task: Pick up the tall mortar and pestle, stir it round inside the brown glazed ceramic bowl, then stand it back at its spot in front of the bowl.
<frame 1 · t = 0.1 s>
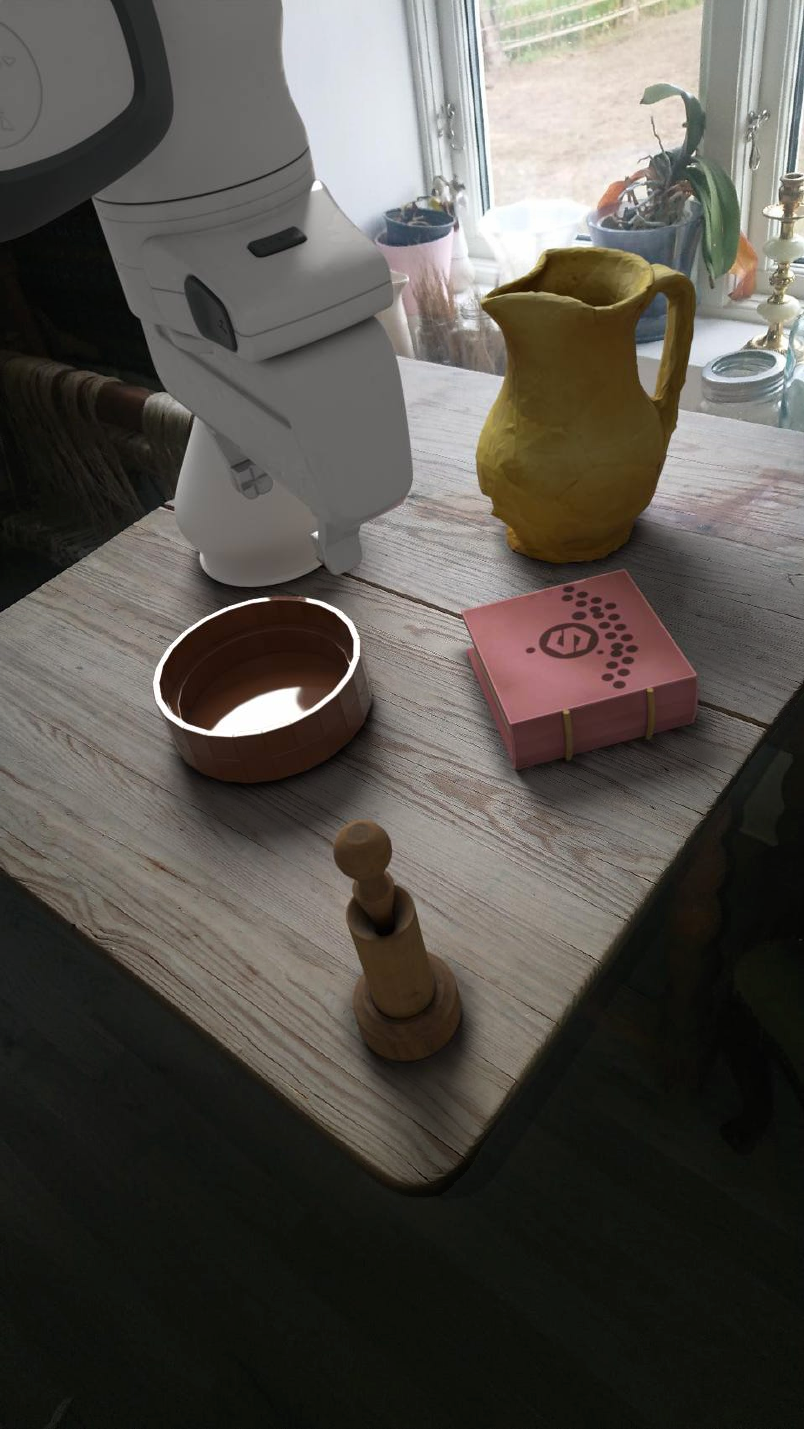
hand: (295, 525, 50), 29 cm above the table, tool pointing down, fingers open, 8 cm apart
pitcher: (580, 530, 96), on the table
book: (575, 692, 80), on the table
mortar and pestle: (410, 1014, 62), on the table
vase: (273, 544, 103), on the table
bowl: (274, 713, 83), on the table
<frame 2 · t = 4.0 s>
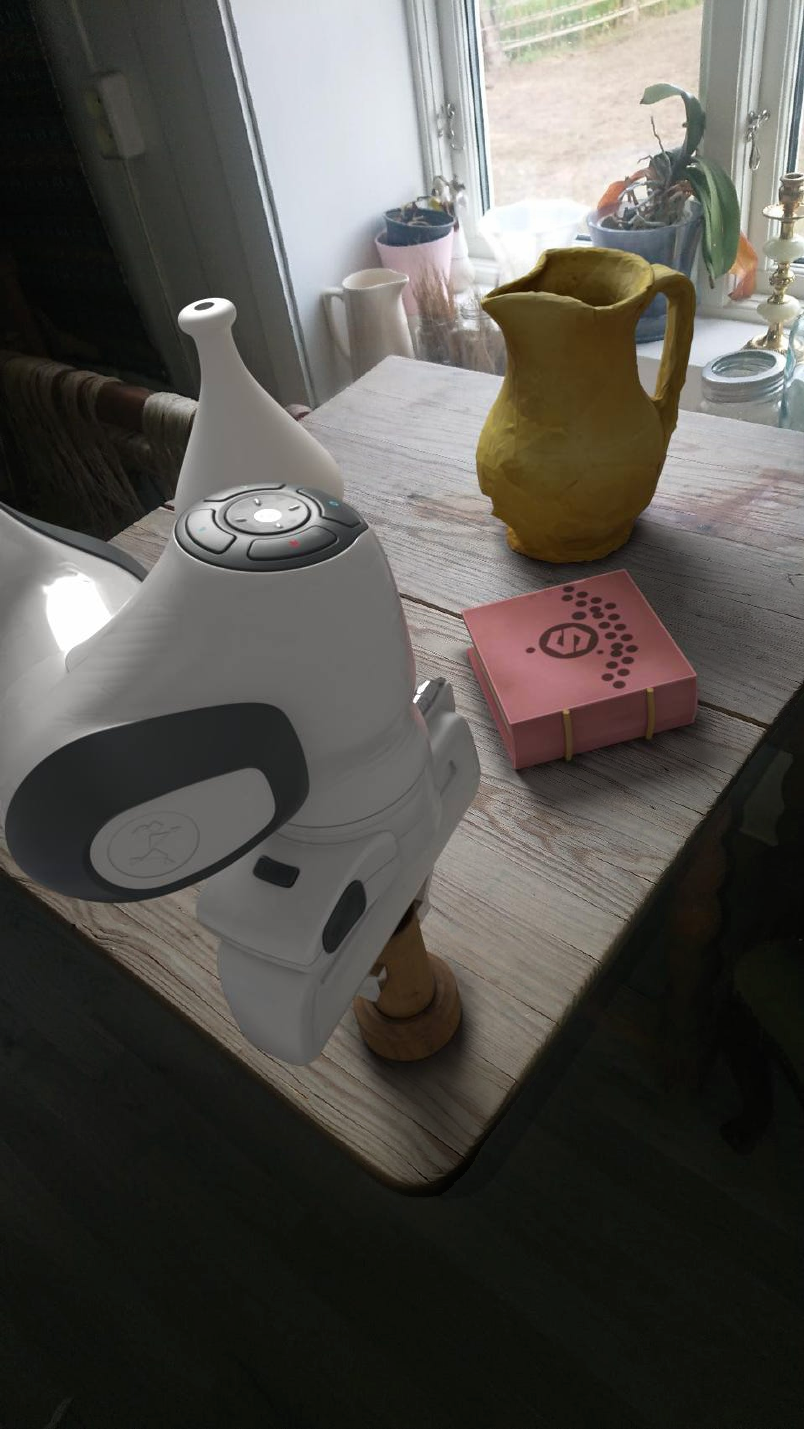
hand: (392, 951, 56), 7 cm above the table, tool pointing down, fingers closed on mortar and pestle, 4 cm apart
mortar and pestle: (410, 1014, 62), on the table, touching gripper
everything else where it was.
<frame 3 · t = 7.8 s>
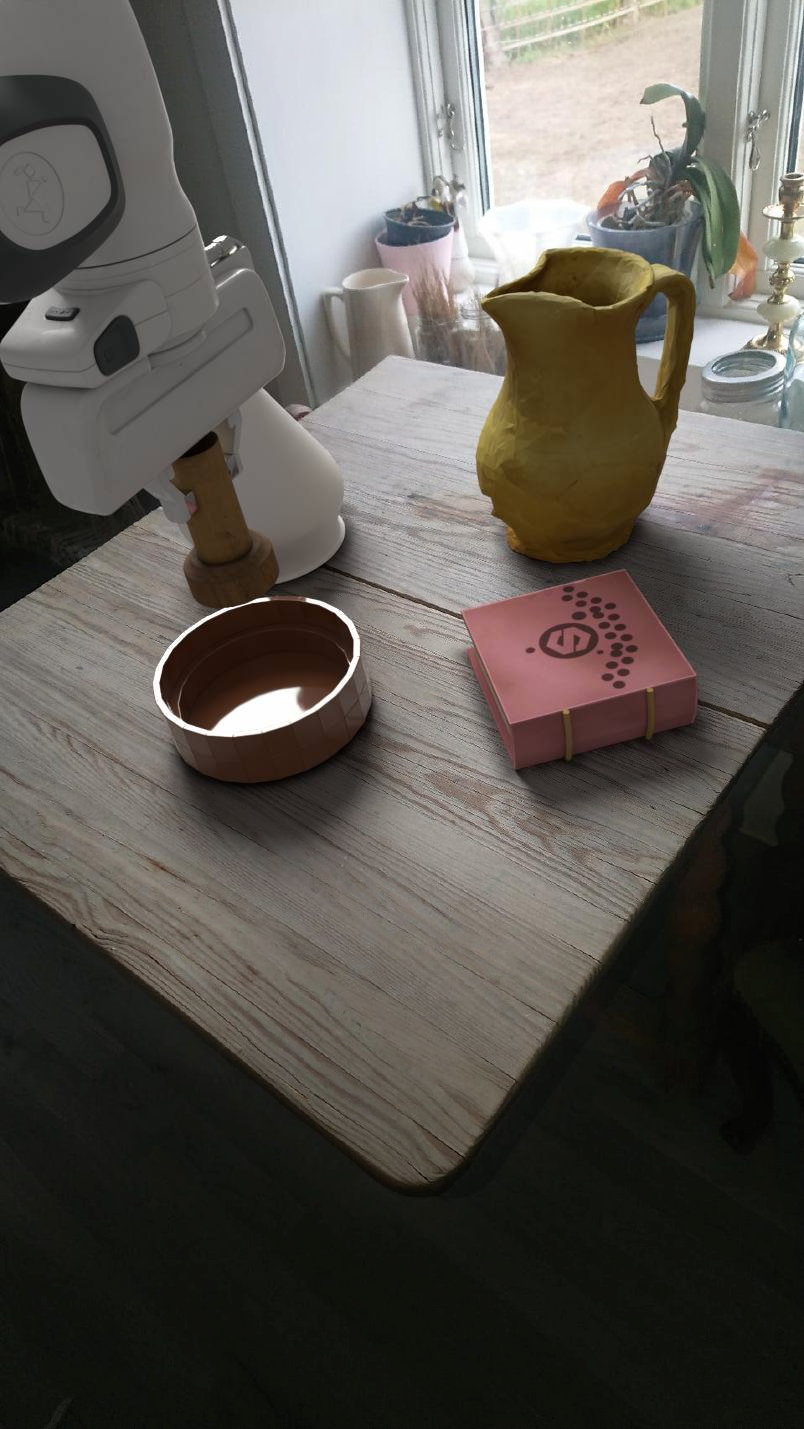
hand: (206, 497, 66), 23 cm above the table, tool pointing down, fingers closed on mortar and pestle, 4 cm apart
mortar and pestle: (236, 583, 71), point 16 cm above the table, touching gripper
everything else where it was.
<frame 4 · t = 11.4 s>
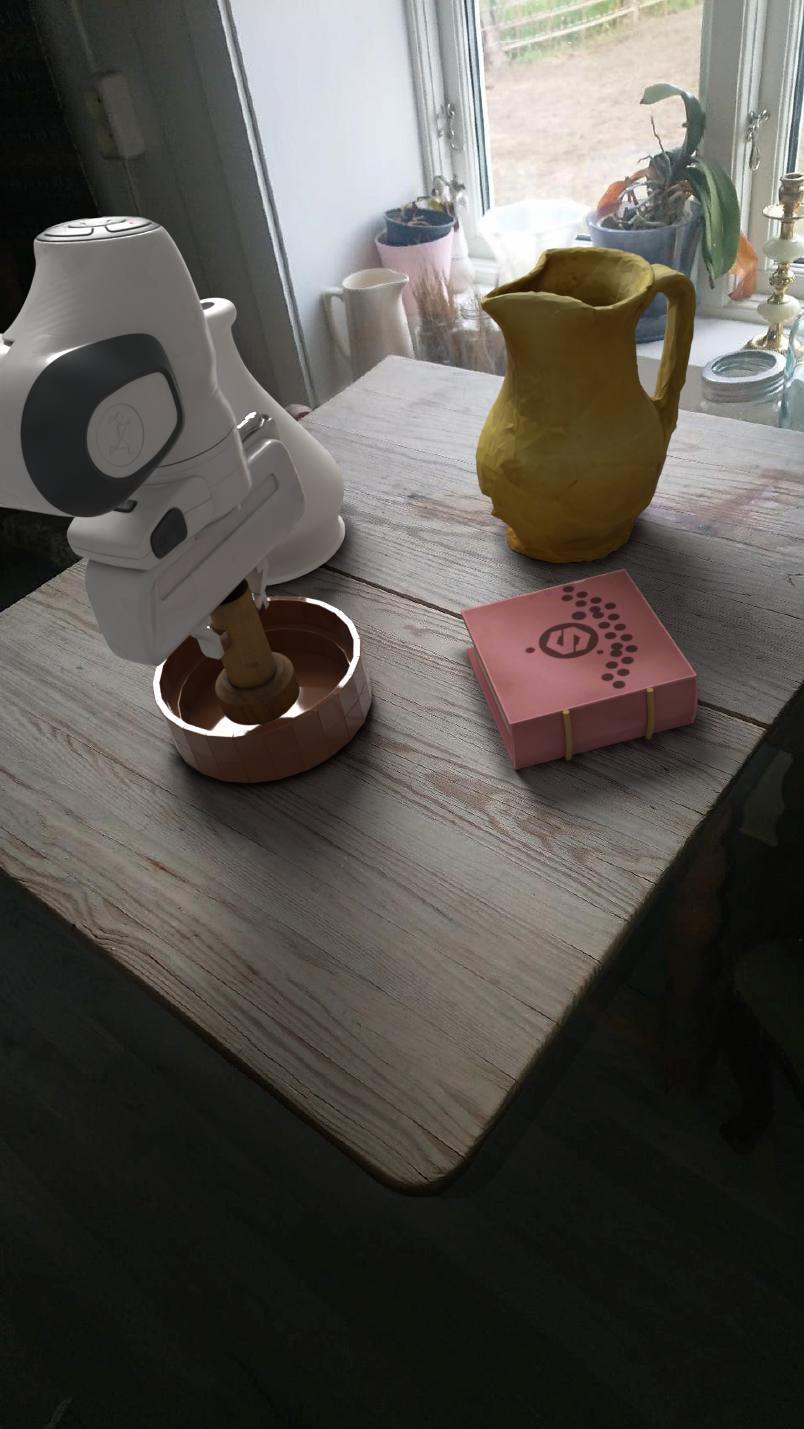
hand: (237, 631, 75), 11 cm above the table, tool pointing down, fingers closed on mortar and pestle, 4 cm apart
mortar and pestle: (262, 699, 80), point 3 cm above the table, touching gripper
everything else where it was.
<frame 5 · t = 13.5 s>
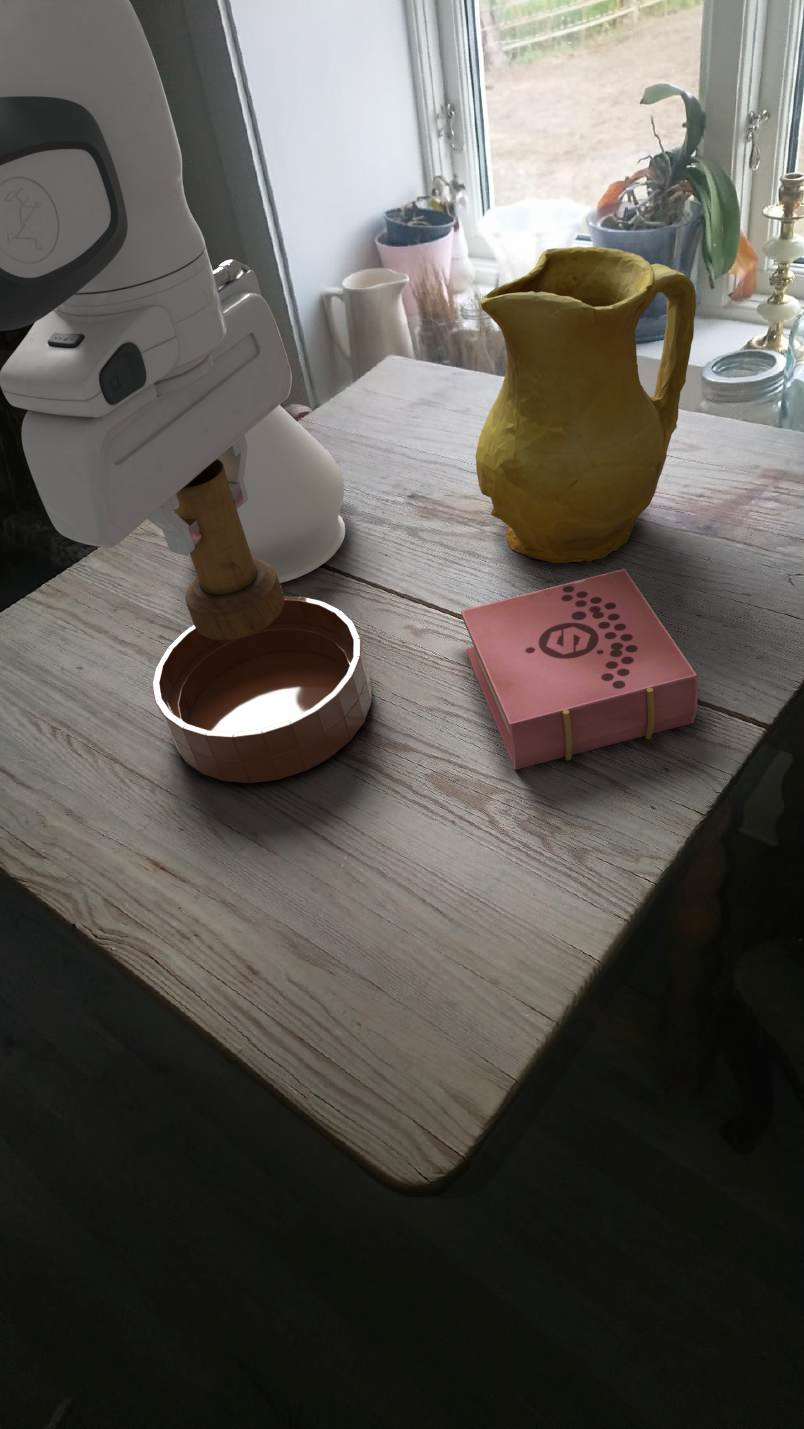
hand: (210, 526, 64), 22 cm above the table, tool pointing down, fingers closed on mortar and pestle, 4 cm apart
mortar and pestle: (240, 613, 69), point 15 cm above the table, touching gripper
everything else where it was.
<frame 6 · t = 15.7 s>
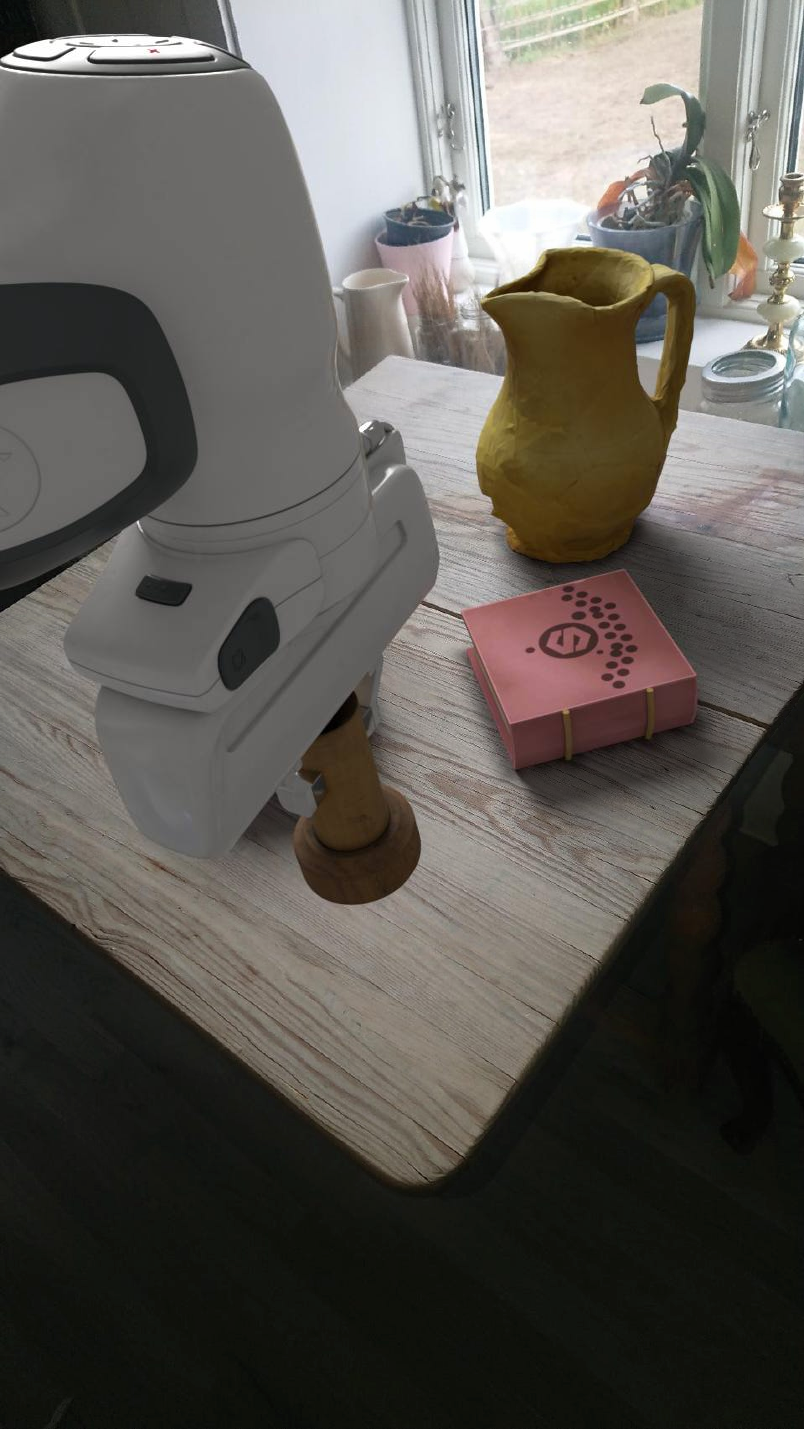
hand: (333, 766, 47), 22 cm above the table, tool pointing down, fingers closed on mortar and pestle, 4 cm apart
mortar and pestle: (362, 857, 52), point 14 cm above the table, touching gripper
everything else where it was.
when the fingers open (7 cm above the table, at t = 19.2 s): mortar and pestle stays where it is, on the table.
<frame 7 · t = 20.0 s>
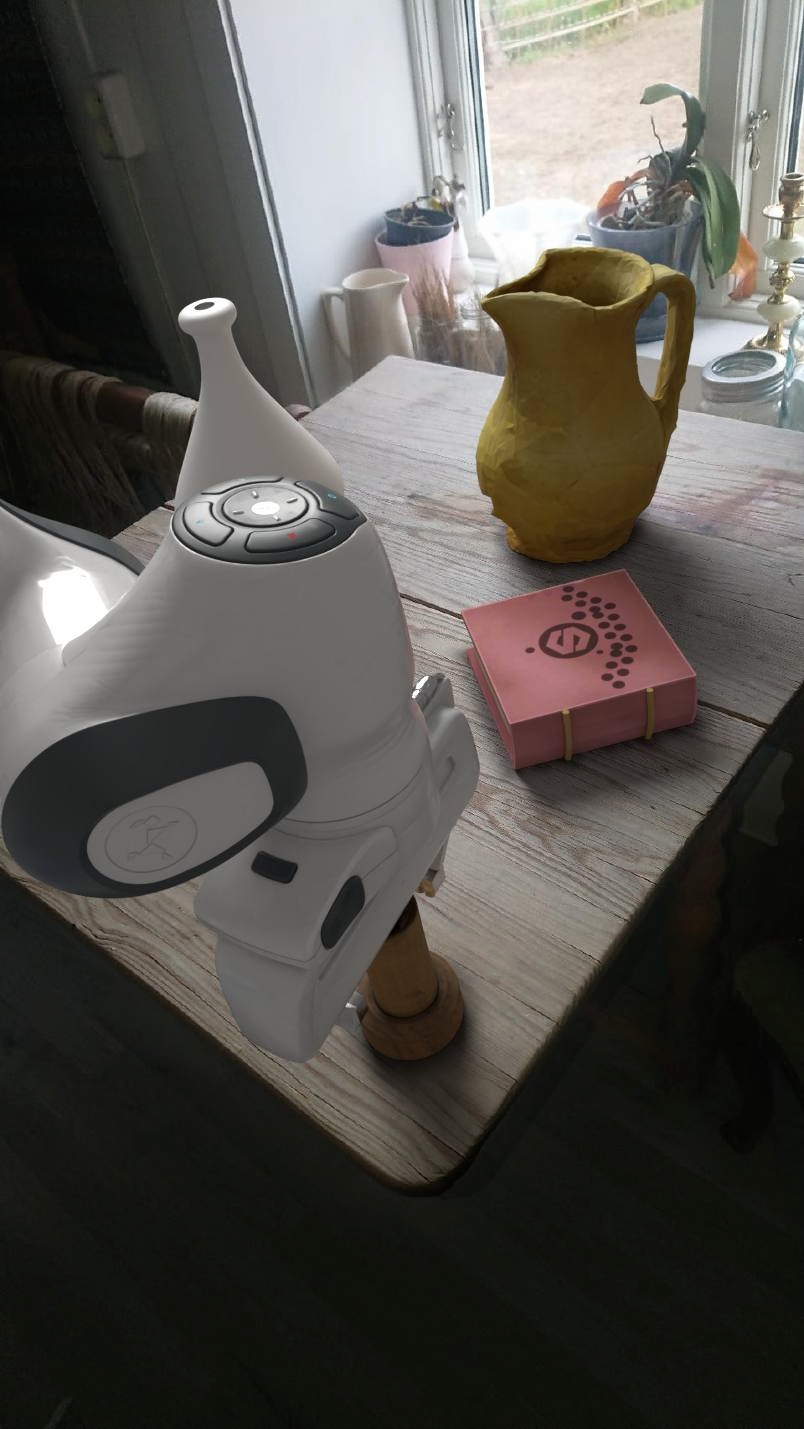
hand: (391, 948, 56), 7 cm above the table, tool pointing down, fingers open, 8 cm apart
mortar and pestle: (413, 1013, 62), on the table
everything else where it was.
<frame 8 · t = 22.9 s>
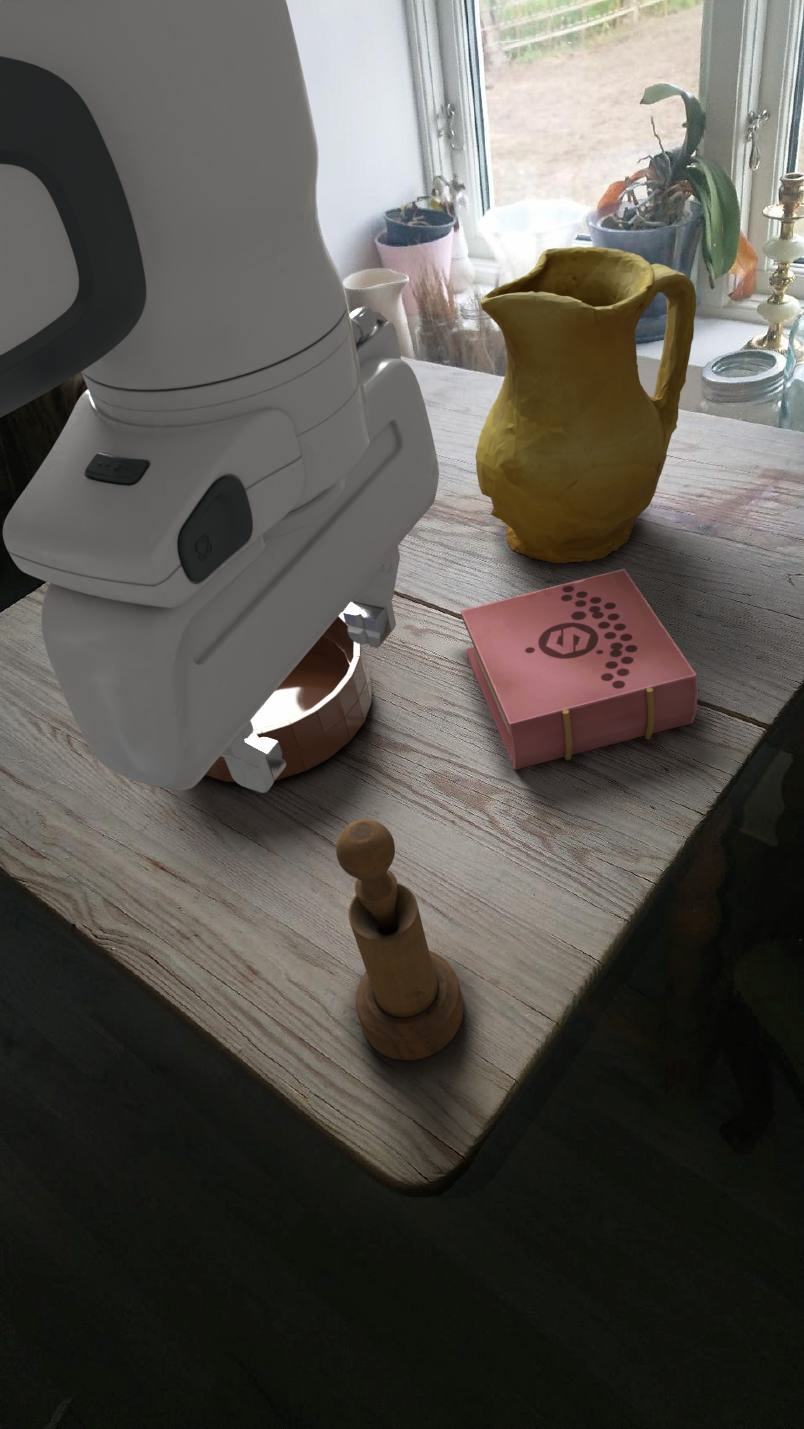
hand: (321, 702, 43), 27 cm above the table, tool pointing down, fingers open, 8 cm apart
nothing on the table moved.
at the end: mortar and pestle tilted 0°; the gripper is holding nothing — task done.
